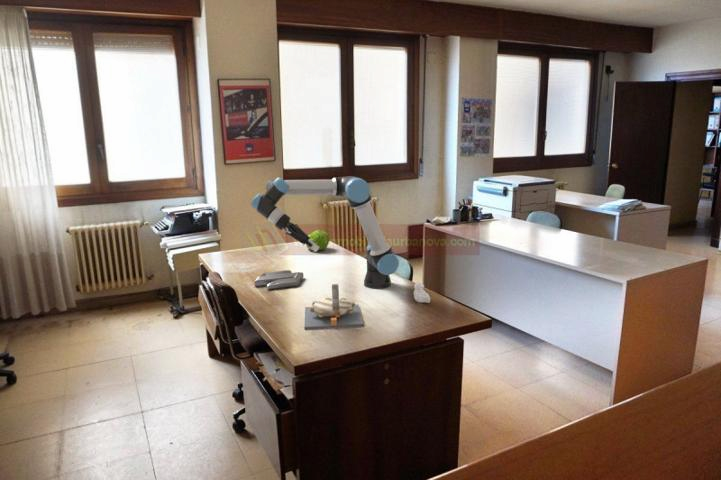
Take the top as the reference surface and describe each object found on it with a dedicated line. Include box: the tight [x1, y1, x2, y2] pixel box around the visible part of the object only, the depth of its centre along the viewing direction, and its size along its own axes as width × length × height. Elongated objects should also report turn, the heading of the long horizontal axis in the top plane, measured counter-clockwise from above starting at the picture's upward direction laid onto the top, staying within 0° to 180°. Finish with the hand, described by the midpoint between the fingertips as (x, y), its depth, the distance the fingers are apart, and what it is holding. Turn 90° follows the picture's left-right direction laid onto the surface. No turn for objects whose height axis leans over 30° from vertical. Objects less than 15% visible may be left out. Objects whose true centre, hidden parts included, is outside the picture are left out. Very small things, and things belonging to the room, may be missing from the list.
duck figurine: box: [413, 281, 431, 304], centre depth 250 cm, size 12×8×11 cm
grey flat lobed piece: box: [254, 269, 304, 290], centre depth 286 cm, size 28×5×28 cm
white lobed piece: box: [309, 283, 356, 317], centre depth 231 cm, size 21×21×14 cm
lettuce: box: [305, 229, 330, 251], centre depth 362 cm, size 15×25×16 cm
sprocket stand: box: [303, 304, 364, 330], centre depth 232 cm, size 26×25×4 cm
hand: (317, 249), depth 240 cm, fingers closed
